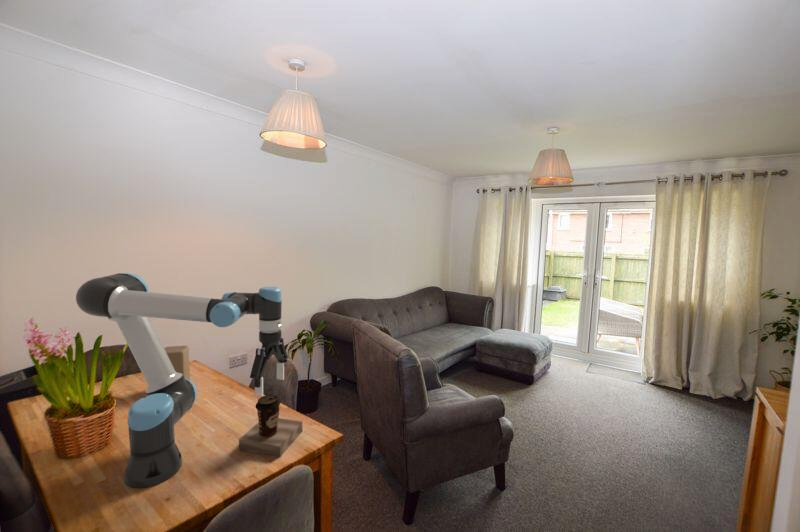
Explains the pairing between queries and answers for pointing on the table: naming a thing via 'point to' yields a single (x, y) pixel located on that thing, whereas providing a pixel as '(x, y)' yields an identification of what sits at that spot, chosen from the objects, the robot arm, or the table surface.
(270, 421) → the coffee cup
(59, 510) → the table surface
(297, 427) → the block
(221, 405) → the table surface
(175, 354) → the block
